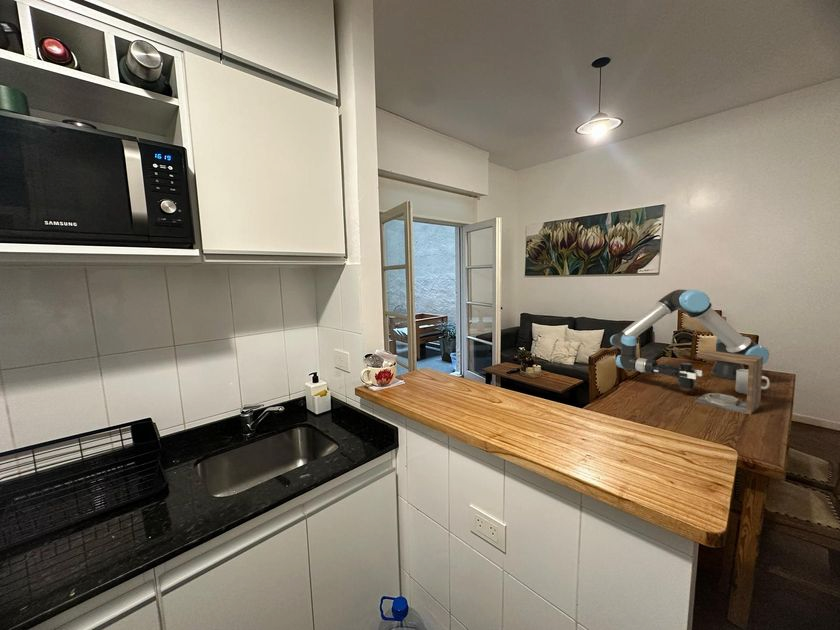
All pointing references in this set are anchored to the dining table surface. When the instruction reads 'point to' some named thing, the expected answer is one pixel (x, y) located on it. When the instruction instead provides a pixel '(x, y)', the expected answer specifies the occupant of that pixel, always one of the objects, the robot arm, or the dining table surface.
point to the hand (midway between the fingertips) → (698, 375)
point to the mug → (746, 381)
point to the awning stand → (753, 383)
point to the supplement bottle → (684, 381)
